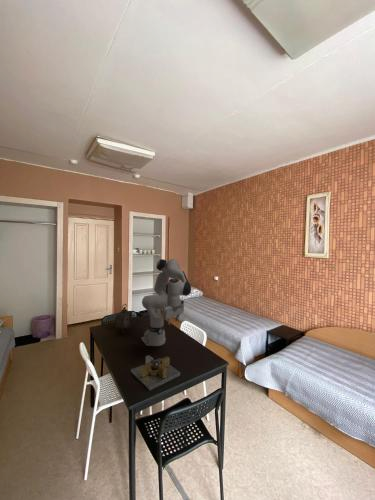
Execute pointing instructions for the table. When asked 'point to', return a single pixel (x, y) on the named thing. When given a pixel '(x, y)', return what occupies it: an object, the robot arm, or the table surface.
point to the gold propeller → (161, 370)
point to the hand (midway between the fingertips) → (173, 322)
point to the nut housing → (155, 381)
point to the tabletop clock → (124, 319)
